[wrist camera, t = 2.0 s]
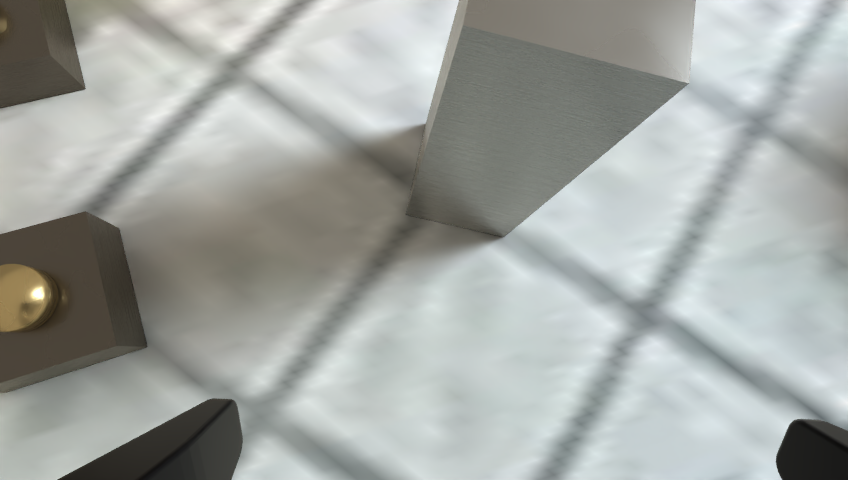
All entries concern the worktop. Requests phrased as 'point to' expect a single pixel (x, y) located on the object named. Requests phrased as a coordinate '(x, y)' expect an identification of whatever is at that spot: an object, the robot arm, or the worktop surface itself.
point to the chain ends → (56, 232)
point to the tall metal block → (540, 100)
